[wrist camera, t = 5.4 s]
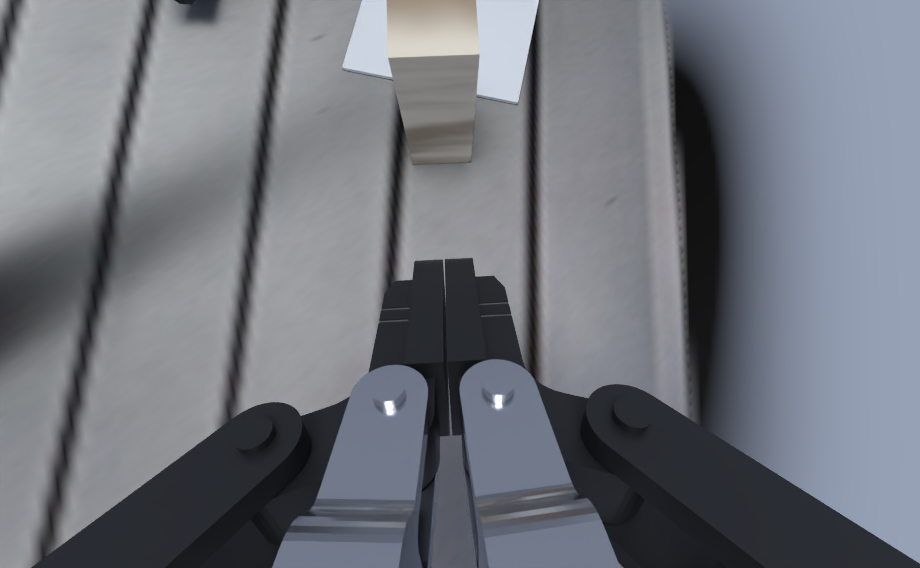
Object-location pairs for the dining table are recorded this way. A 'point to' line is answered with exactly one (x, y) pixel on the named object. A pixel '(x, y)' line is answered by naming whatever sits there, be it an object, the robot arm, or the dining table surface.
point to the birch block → (435, 75)
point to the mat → (500, 44)
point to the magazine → (185, 1)
